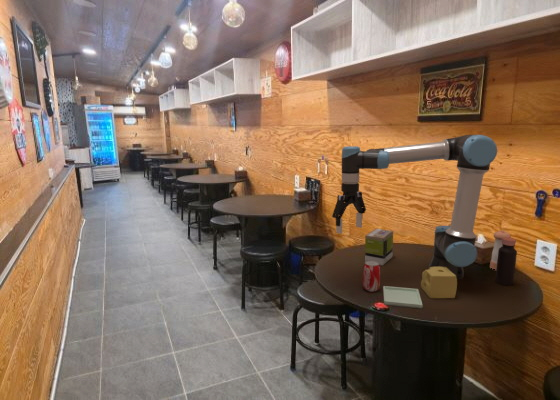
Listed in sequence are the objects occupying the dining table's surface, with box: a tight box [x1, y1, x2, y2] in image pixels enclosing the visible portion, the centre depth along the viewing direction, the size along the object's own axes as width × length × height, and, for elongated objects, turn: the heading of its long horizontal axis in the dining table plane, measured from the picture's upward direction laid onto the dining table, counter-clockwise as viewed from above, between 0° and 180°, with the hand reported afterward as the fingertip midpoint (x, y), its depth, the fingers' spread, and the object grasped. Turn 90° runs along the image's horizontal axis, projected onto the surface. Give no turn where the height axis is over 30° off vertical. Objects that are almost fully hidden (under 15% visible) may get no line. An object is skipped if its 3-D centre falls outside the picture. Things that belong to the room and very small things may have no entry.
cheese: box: [420, 267, 458, 299], centre depth 146 cm, size 10×11×10 cm
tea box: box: [364, 228, 394, 266], centre depth 185 cm, size 15×10×15 cm, turn 144°
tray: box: [382, 285, 423, 309], centre depth 143 cm, size 14×14×2 cm
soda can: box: [362, 260, 381, 293], centre depth 151 cm, size 7×7×12 cm
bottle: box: [494, 237, 518, 286], centre depth 154 cm, size 7×7×20 cm
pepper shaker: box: [489, 230, 512, 271], centre depth 170 cm, size 7×7×19 cm
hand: (349, 230), depth 157 cm, fingers open, 13 cm apart
